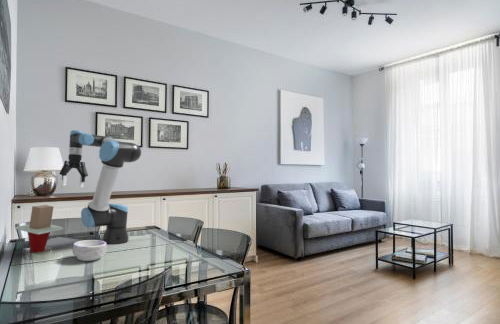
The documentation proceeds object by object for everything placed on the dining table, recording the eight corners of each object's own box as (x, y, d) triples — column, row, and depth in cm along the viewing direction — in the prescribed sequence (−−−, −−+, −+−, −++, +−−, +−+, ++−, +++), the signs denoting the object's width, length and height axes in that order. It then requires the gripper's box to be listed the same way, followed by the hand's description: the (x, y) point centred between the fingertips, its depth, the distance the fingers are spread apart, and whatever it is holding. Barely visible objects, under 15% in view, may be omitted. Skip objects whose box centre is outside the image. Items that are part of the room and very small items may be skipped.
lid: (63, 229, 168) (66, 207, 168) (38, 234, 153) (42, 210, 153) (41, 224, 171) (44, 202, 171) (14, 228, 157) (18, 205, 157)
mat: (85, 241, 188) (85, 240, 188) (58, 249, 168) (58, 248, 168) (58, 237, 192) (58, 236, 193) (29, 244, 173) (29, 244, 173)
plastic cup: (37, 255, 155) (39, 232, 156) (19, 253, 158) (21, 229, 158) (55, 250, 166) (56, 228, 166) (38, 248, 168) (40, 226, 168)
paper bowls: (112, 257, 161) (113, 241, 162) (88, 265, 147) (89, 248, 147) (89, 252, 166) (90, 237, 167) (64, 259, 152) (65, 243, 152)
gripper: (54, 152, 202) (52, 185, 201) (87, 154, 196) (84, 188, 196) (64, 153, 209) (61, 184, 209) (95, 155, 203) (93, 187, 203)
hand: (72, 186), depth 202 cm, fingers open, 13 cm apart
